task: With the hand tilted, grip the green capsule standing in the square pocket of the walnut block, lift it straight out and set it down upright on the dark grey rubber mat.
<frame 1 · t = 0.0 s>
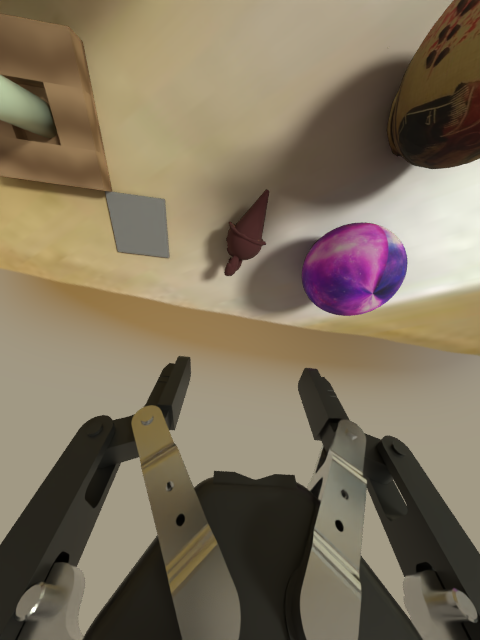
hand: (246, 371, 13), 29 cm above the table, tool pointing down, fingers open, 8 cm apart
decorative orb: (328, 261, 38), on the table
icecream: (245, 235, 35), on the table
pocket block: (44, 119, 27), on the table
ceramic jug: (419, 105, 26), on the table
mat: (140, 226, 34), on the table
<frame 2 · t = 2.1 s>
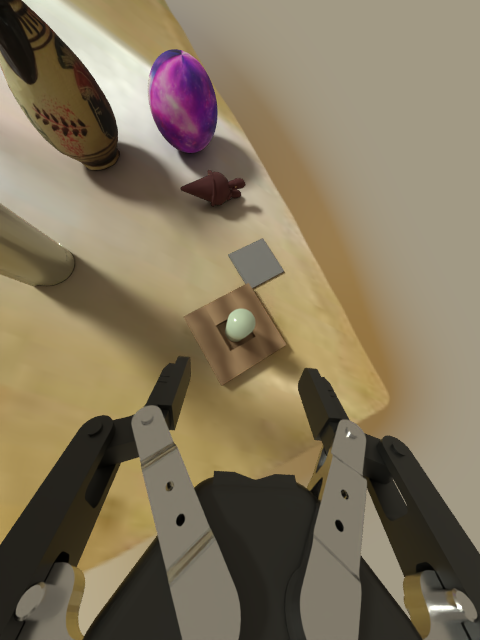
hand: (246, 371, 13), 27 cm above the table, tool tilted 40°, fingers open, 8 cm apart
decorative orb: (189, 146, 49), on the table
icecream: (214, 201, 46), on the table
pocket block: (234, 332, 40), on the table
green capsule: (237, 327, 34), in the pocket block
ceramic jug: (96, 158, 45), on the table
mat: (256, 263, 44), on the table
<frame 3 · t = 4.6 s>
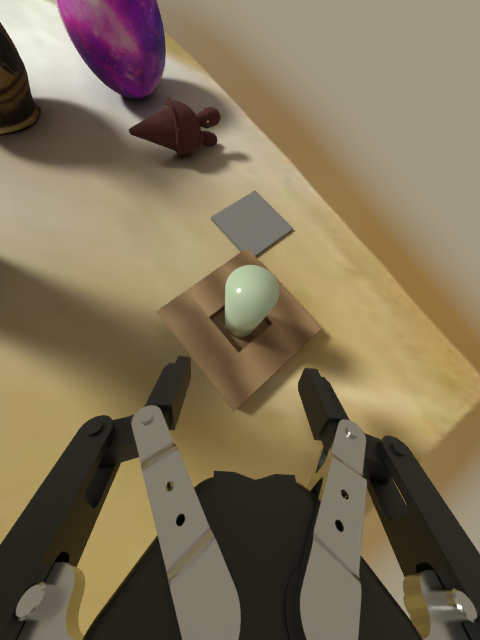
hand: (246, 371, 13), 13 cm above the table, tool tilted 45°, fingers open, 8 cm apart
decorative orb: (137, 94, 37), on the table
icecream: (181, 153, 34), on the table
pocket block: (239, 323, 26), on the table
green capsule: (244, 311, 20), in the pocket block
ceramic jug: (8, 120, 32), on the table
mat: (252, 224, 31), on the table
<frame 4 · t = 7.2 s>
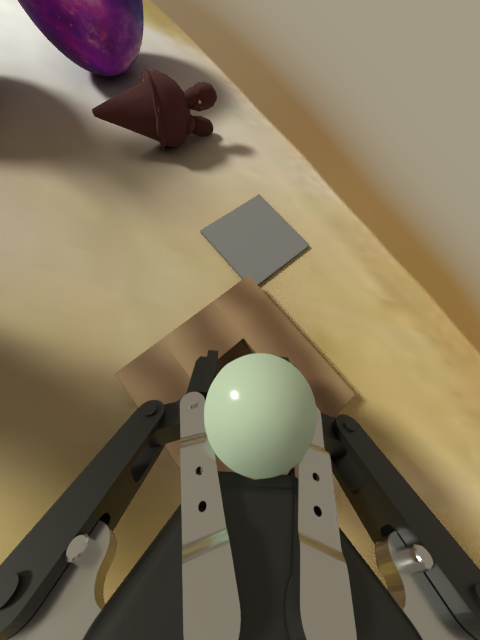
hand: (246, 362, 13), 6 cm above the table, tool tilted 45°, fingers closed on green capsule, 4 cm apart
decorative orb: (111, 72, 29), on the table
icecream: (167, 145, 26), on the table
pocket block: (238, 382, 19), on the table
green capsule: (244, 390, 13), in the pocket block, touching gripper
mat: (255, 239, 23), on the table
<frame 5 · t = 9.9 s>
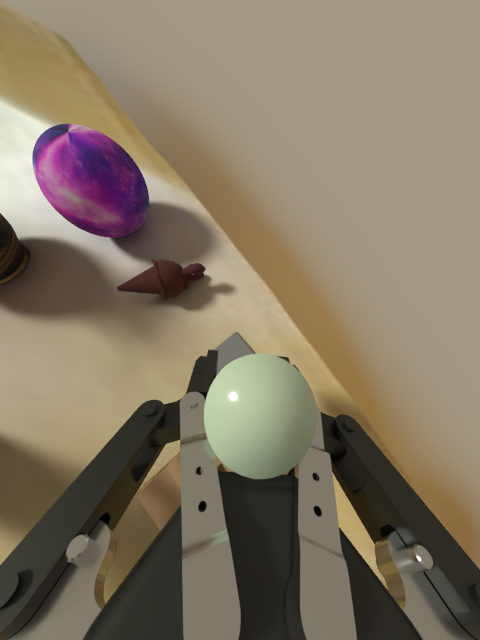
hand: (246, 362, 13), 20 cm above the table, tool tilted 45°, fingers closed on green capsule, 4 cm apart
decorative orb: (124, 223, 38), on the table
icecream: (169, 287, 35), on the table
pocket block: (218, 488, 28), on the table
green capsule: (244, 390, 13), point 20 cm above the table, touching gripper
mat: (232, 370, 32), on the table
when the fingers open (8 cm above the table, at t = 12.7 s): green capsule drops 1 cm, resting on mat.
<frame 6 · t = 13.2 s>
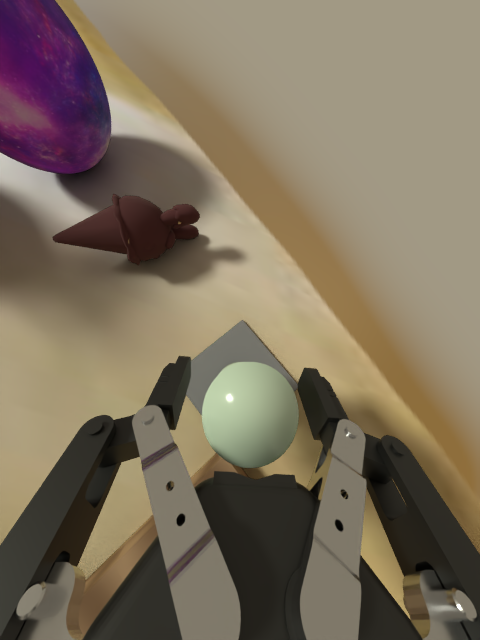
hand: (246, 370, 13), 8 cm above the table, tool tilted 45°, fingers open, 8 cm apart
decorative orb: (79, 161, 26), on the table
icecream: (146, 250, 24), on the table
pocket block: (210, 591, 16), on the table
green capsule: (241, 390, 14), on the mat
mat: (236, 381, 20), on the table
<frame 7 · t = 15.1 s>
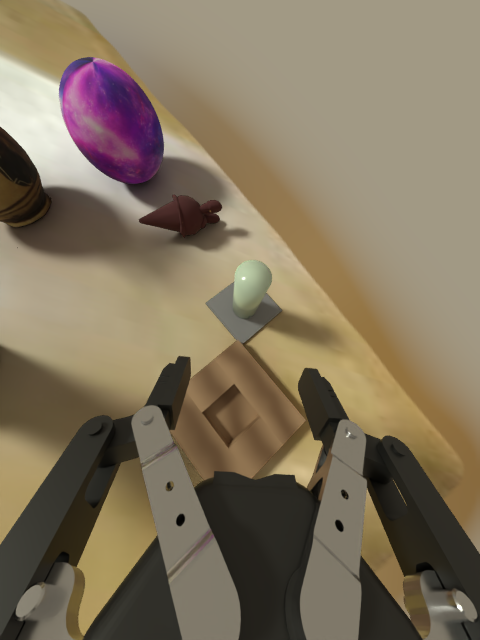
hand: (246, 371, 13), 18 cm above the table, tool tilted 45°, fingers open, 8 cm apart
decorative orb: (139, 175, 40), on the table
icecream: (186, 230, 37), on the table
pocket block: (231, 411, 29), on the table
green capsule: (248, 295, 27), on the mat
ceramic jug: (23, 211, 36), on the table
mat: (243, 307, 33), on the table
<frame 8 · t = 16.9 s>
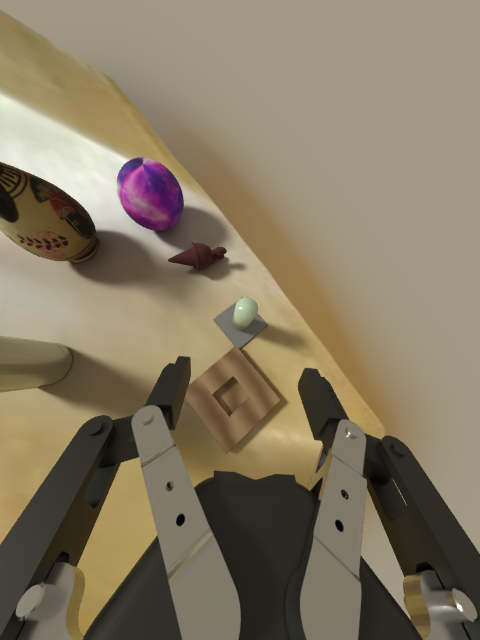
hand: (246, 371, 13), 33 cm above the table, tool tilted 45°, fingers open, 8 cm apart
decorative orb: (162, 221, 53), on the table
icecream: (199, 264, 51), on the table
pocket block: (231, 394, 43), on the table
green capsule: (243, 316, 41), on the mat
ceramic jug: (78, 250, 49), on the table
mat: (240, 322, 47), on the table
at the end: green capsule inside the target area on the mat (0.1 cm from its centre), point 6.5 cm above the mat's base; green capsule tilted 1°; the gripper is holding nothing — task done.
